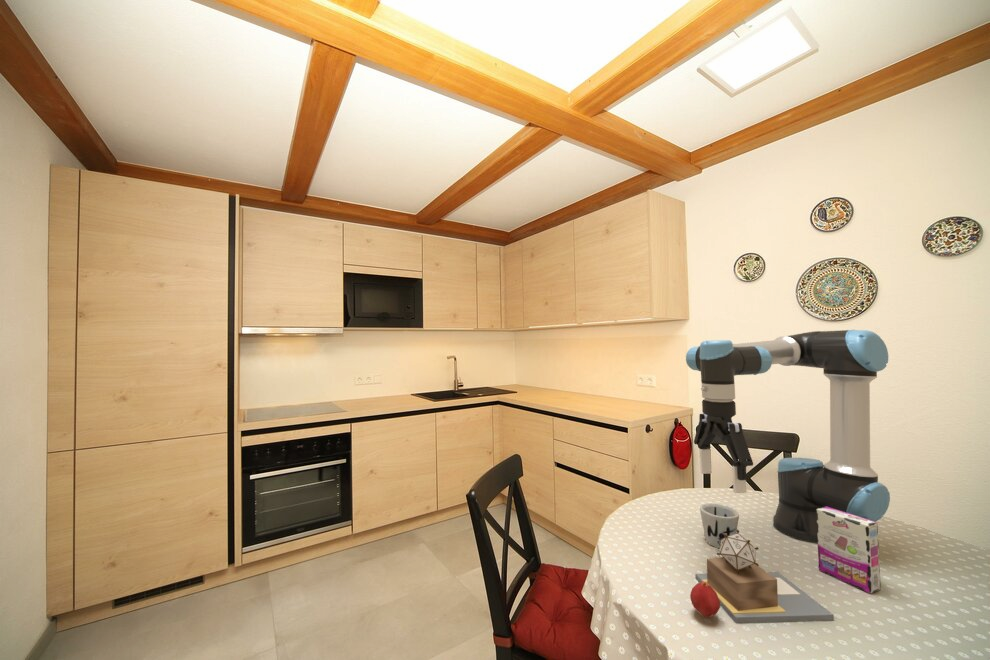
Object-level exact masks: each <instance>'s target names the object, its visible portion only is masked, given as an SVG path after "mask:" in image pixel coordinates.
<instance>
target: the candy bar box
mask: <svg viewBox="0 0 990 660" xmlns="http://www.w3.org/2000/svg"><path fill="white" fill-rule="evenodd" d="M816 513H817V537H818V543H817V555H818V560H817V561H818V571H820V572H822V573H823V574H826V575H828V576H831V577H833V578H836V580H839V581H841V582H844V583H846V584H848V585H851V586H853V587H854V586H855V588H857V589H859V590H862V591H864V592H866V593H867V594H870V595H871V594H873V593H876V592H878V591H880V590H881V589H882V587H881V586H882V585H881V583H882V582H881V567H880V563H881V562H880V546H879V527H878V525H879V524H878V522H877V521H876V522H874V521H871V520H868V519H865V518H862V517H858V516H855V515H852V514H849V513H846V512H843V511H839V510H836V509H833V508H830V507H827V506H826V507H822V508H819V509H816Z"/></svg>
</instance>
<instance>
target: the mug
mask: <svg viewBox="0 0 990 660" xmlns="http://www.w3.org/2000/svg"><path fill="white" fill-rule="evenodd" d="M699 511H700V516H701V522H702V528H703V532H704V538H705V539H704V540H705V541H706V543H707V544H708V545H710V546H711V547H714V548H717V549H720V546H721V541H720V540H719V539H718V538H721V540H722V539H723V538H725V536H724V534H726V535H727V536H729V535H732V534H735V533H737V532H736V530H738V526H739V519H740V513H739V512H738V511H737V510H736V509H734V508H733V507H730V506H728V505H724V504H720V503H704V504H701V505H700V506H699Z"/></svg>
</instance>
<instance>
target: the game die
mask: <svg viewBox="0 0 990 660" xmlns="http://www.w3.org/2000/svg"><path fill="white" fill-rule="evenodd" d="M736 532H737V533H735V534H732V535H729V536H727V535H726V534H724V536H725V538H723V539H722V540H721V538H718V539H719V540H720V541H721V546H720V548H719V552H717V553H716V555H717V556H721V557H723V558H724V559H725V560H726V562H729V563H730V564H731V565H732V566H733V567H734V568H735V569H736V570H737V571H736V573H737V574H738V573H739V572H738V570H741V569H743V568H746V567H748V566H749V568H751V569H752V567H751V565H753V564H755V565H757V566H759V567H760V565H759V563H758V562H756V559H757V558H756V554H757V553H756V550H759V547H755V546H754V545H752V544H751V540H750V539H748V540H747V539H746V538H745V537H743V535H741V534H740V530H739V529H737V530H736Z"/></svg>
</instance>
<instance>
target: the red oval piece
mask: <svg viewBox="0 0 990 660" xmlns="http://www.w3.org/2000/svg"><path fill="white" fill-rule="evenodd" d="M689 597H690V602H691V605H692V606H693V608H694V609H695V610H696V611H697V612H698V613H699V614H700V615H701V616H702V617H703V618H705V619H708V618H711V617H712V616H715V615H716V614H718V612H719V611H720V608H721V606H720V601H719V598H718V595H717V593H716V592H715V591H714V589H713V588H712V587H711V586H709V585H708V584H707V581H703V582H701V583H699V582H698V583H696V584H695V585H694V586H693V587H692V588H691V591H690V594H689Z"/></svg>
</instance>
